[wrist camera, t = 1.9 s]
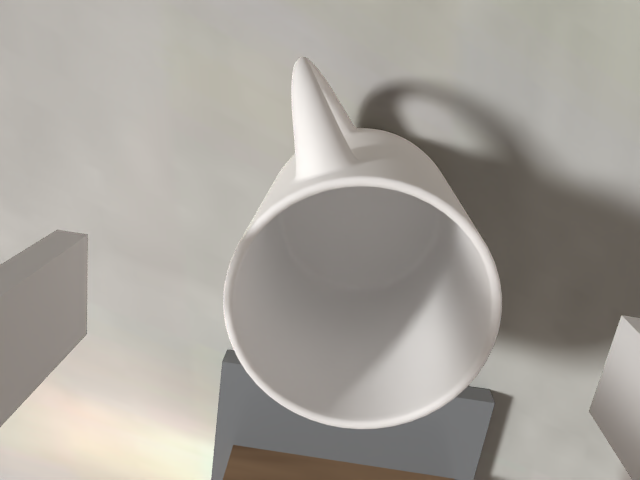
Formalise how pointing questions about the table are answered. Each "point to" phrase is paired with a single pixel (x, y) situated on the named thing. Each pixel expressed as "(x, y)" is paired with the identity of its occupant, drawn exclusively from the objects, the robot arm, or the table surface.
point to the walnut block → (306, 468)
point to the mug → (359, 276)
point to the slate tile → (351, 431)
